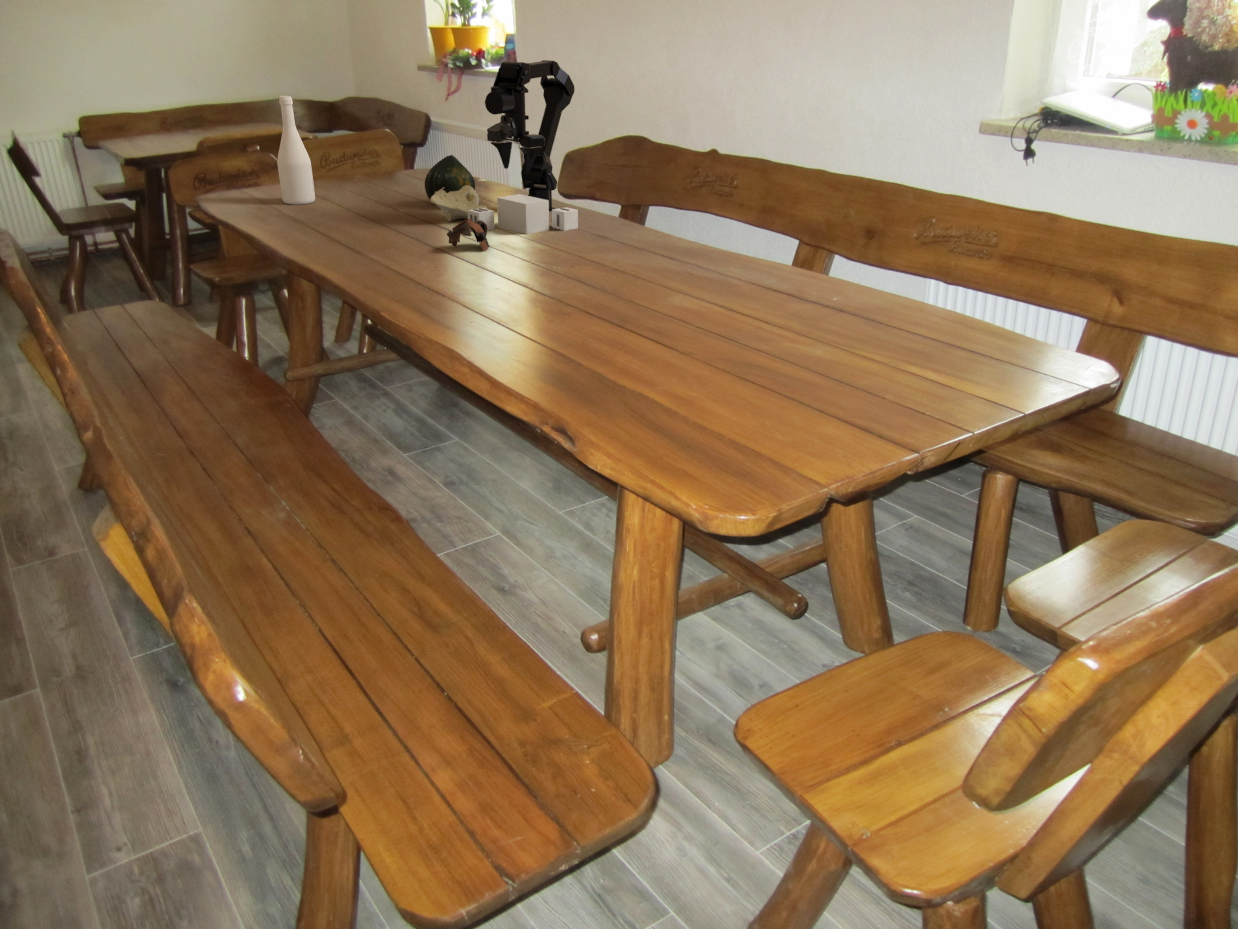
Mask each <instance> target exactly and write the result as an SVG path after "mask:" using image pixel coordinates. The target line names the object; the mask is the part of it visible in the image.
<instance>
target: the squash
mask: <svg viewBox="0 0 1238 929" xmlns="http://www.w3.org/2000/svg"><path fill="white" fill-rule="evenodd" d="M466 185H469V186H471V187H472V188H473V189H474V190H475V191H476V183H475V179H474V177H473V175H472V173H471V172H470V171H469V170H468V168H467V167H465V166H464V165H463V163H461V162H460V161H459V159H458V158H456V157H455V156H454V155H453V154H450V155H446V156H445V157H443V158H442V159H441V160H439V161H438V162H436V163H435V164H434V165H433V166H432V167H431V168H430V169H429V171H428V172H427V174H426V176H425V179H424V189H425V190H424V191H425V194H426V196H427V198H428V200H429V201H430V199H431V197H432V196H433V195H434V194H435V192H438V191H439V190H440V189H442V188H443V187H444V188H443V191H445V192H446V193H449V192H450V191H452V192H453V191H458V190H460V189H461V188H462V187H463V186H466ZM432 204H434V203H432ZM434 205H435V204H434Z"/></svg>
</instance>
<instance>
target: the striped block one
mask: <svg viewBox="0 0 1238 929" xmlns="http://www.w3.org/2000/svg"><path fill="white" fill-rule="evenodd" d="M552 227H553V228H552ZM551 228H552V229H555V228H556V230H559V229H560V231H564V232H565V231H570V229H571V230H575V229H578V228H579V210H578V209H576V208H575V209H574V208H572V207H567V206H566V207H559V208H555V209H552V210H551Z"/></svg>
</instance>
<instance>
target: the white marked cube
mask: <svg viewBox="0 0 1238 929" xmlns="http://www.w3.org/2000/svg"><path fill="white" fill-rule="evenodd" d="M494 211H495V210H492V209H488V208H487V209H485V208H478V209H472V210H468V219H471V220H472V222H474V223H475V222H477V221H479V220H481V221H483V222H485V224H486V225H487V231H491V230H495V227H496V226H495V212H494ZM470 230H471V228H470Z"/></svg>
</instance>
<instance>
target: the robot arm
mask: <svg viewBox="0 0 1238 929" xmlns="http://www.w3.org/2000/svg"><path fill="white" fill-rule="evenodd" d="M551 76H552V77H551ZM548 77H549V78H548ZM537 78H538V79H539V78H540V82H539V84H540V86H541V88H542V90H543V93H542V94H543V99H544V102H545V108H544V112H543V116H542V119H541V123H540V127H539V130H538V134H536V133H533V134H530V131H529V130H526V129H527V128H526V126H527V125H526V122H527V120H530V117H529V115H528V114H526V94H528V93H529V89H528V88H527V87H526V86H525V85H527V84H529V83H530V82H531V80H533V79H537ZM575 89H576V88H575V84H574V83H573V80H572V78H571V77H570V74H568V72H566V71H565V70H563V69H562V68H561V67H560V65H559V63H558V62H557V61H555V60H549V59H548V60H545V59H543V60H540V61H535V62H524V61H522V62H521V61H507V60H506V61H502V62H501V64H500V66H499V68H498V70H497V73H496V76H495V80H494V82H493V85H492V86H491V87H490V91H489V93H488V94H486V97H485V99H484V106H485V108H486V110H487V111H488V113H490V114H491V115H494V116H496V115H500V121H499V122H498V123H494V124H493V125H491V126H489V127H488V128H487V129H486V131H487V134H486V138H487V142H490V145H492V146H494V147H495V148H496V149H497V152H498V154H499V157H500V159H501V162H502V165H503V168H504V169H506V170H507V169H508V168H509V166H510V161H511V156H512V155H511V154H512V147H513V142H515V143H519V145H520V146H521V147H519V150H520V151H521V153H522V155H523V164H522V166H521V171H520V175H521V180H522V184H523V188H524V189H528V194H527V196H531V197H535V198H540V199H544V200H549V210H550V211H552V209H556V207H553V202H552V201H553V199H552V196H553V194H552V192H553V191H555V190H556V189H557V186H558V181H557V178H556V177H555V175H554V173H553V165H552V160H551V154H552V150H553V147H554V144H555V143H554V142H555V140H556V136H557V131H558V128H559V125H560V121H561V117H562V114H563V111H564V110H565V109H566V108H567V107H568V106H569V105H570V103H571V102H572V99H573V96H574V93H575Z"/></svg>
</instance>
